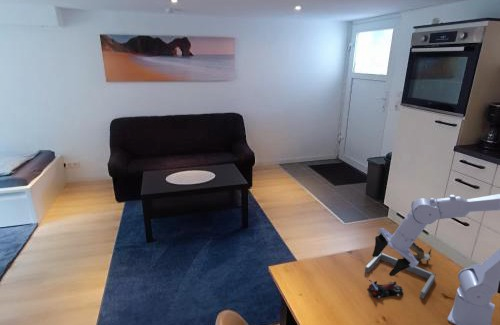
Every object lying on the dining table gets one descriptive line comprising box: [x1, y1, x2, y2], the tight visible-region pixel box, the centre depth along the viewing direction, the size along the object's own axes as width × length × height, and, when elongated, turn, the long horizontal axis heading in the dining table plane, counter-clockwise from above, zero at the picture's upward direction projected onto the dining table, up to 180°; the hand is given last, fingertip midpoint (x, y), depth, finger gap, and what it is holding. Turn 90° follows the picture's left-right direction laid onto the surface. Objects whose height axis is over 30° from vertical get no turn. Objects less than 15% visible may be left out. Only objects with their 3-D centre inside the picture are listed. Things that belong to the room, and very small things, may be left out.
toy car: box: [366, 279, 405, 299], centre depth 104 cm, size 6×12×4 cm, turn 96°
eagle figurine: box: [409, 242, 432, 264], centre depth 120 cm, size 8×7×9 cm
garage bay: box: [364, 252, 436, 299], centre depth 111 cm, size 20×13×2 cm, turn 45°
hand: (382, 265), depth 97 cm, fingers open, 7 cm apart
